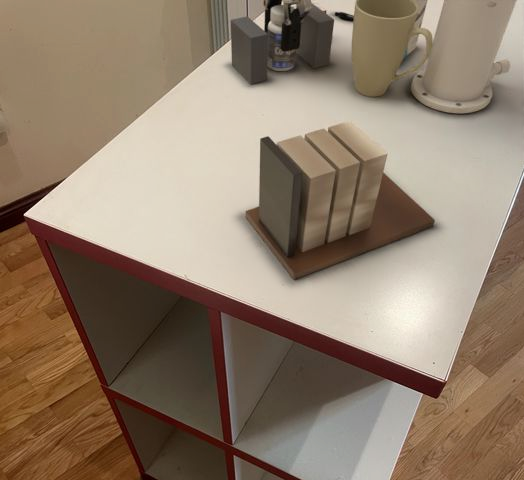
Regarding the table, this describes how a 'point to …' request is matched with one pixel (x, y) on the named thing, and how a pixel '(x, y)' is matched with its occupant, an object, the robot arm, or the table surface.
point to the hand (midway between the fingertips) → (281, 41)
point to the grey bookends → (256, 44)
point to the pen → (345, 16)
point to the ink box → (416, 25)
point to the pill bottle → (278, 42)
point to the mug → (383, 42)
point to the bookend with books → (329, 199)
